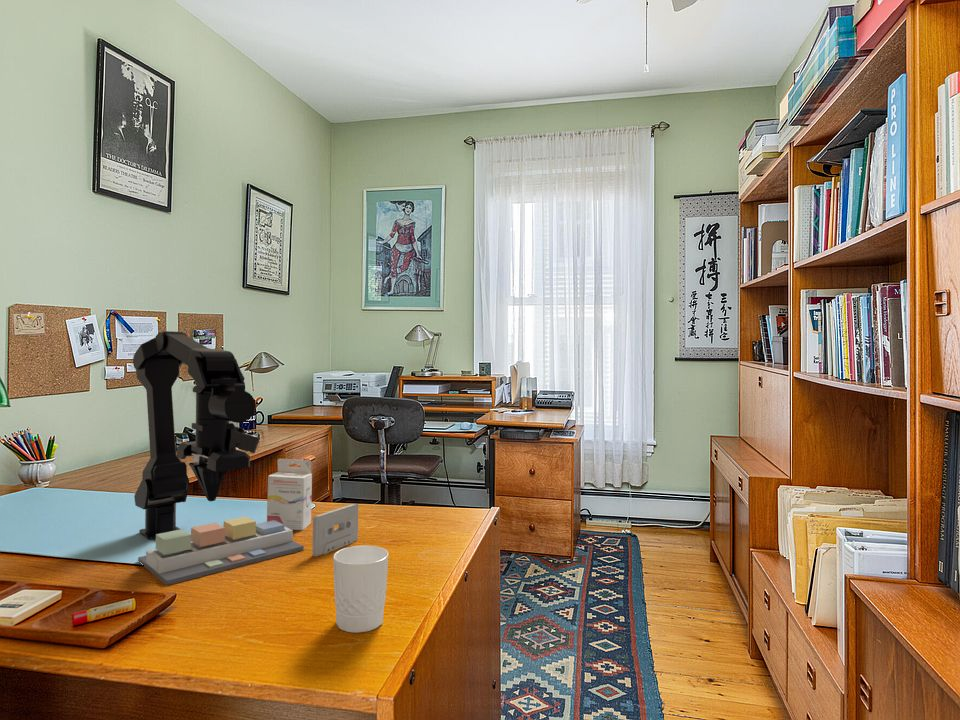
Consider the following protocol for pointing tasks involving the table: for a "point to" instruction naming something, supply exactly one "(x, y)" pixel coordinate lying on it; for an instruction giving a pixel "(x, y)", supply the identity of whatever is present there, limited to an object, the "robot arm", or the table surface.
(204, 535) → the key terracotta
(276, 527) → the key slate
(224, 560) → the keypad base
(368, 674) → the table surface
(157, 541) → the key sage
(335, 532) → the cassette
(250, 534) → the key ochre
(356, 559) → the white cup
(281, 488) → the ink cartridge box
